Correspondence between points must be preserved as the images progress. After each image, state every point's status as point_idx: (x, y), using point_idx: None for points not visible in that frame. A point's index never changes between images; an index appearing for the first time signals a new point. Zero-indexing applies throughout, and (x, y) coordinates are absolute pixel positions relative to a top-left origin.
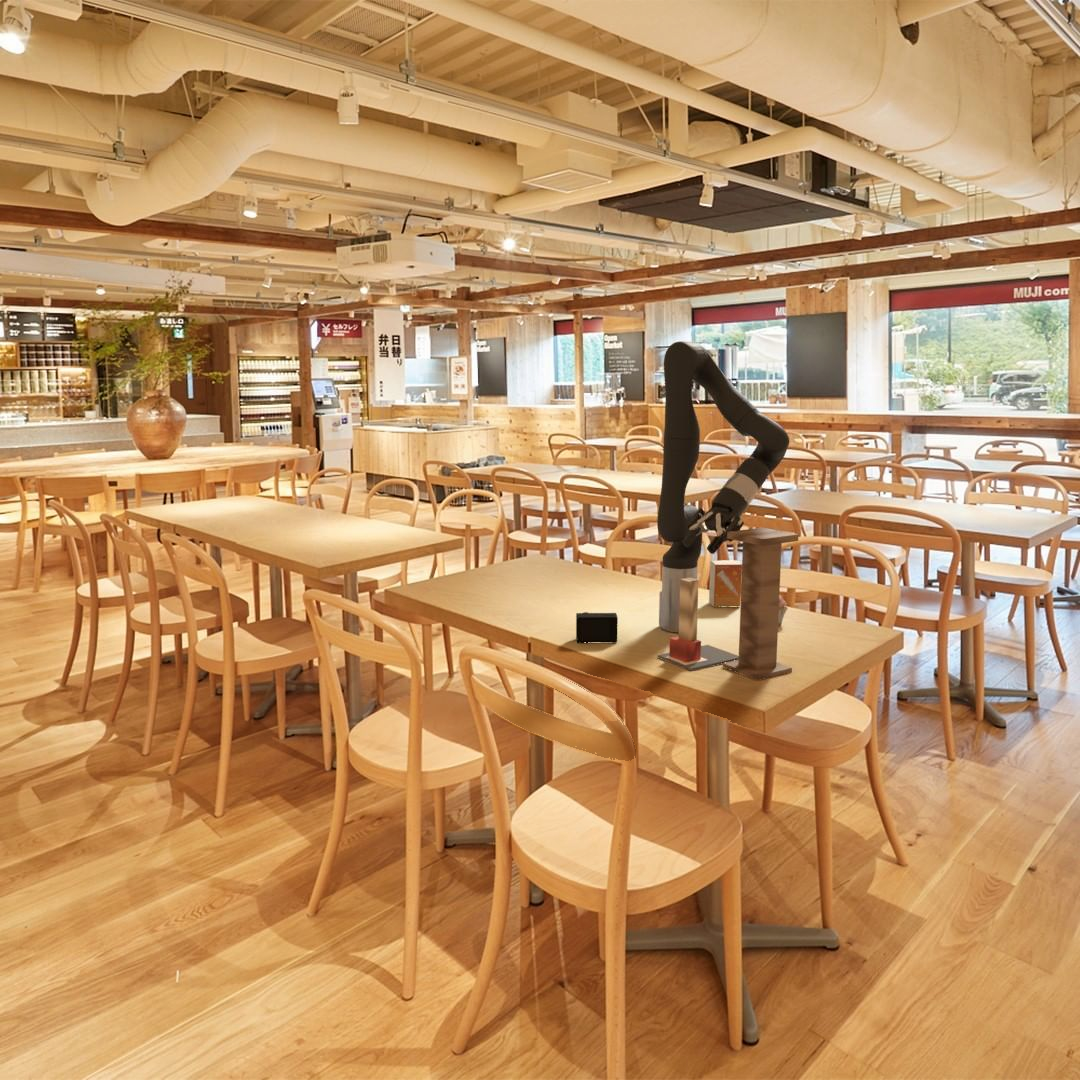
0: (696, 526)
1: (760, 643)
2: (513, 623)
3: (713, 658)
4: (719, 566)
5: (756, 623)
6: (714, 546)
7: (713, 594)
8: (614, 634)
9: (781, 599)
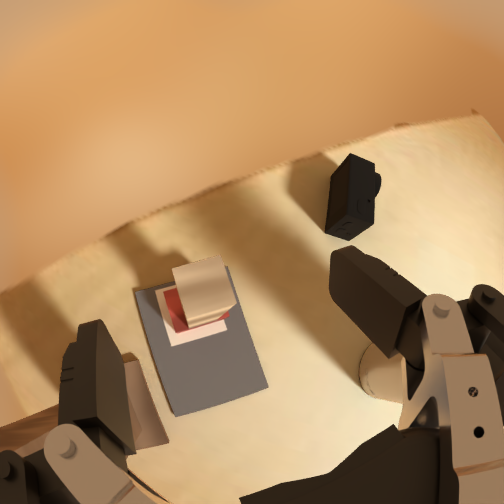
0: (432, 342)
1: None
2: (414, 147)
3: (179, 361)
4: None
5: (50, 409)
6: (63, 362)
7: None
8: (331, 222)
9: None
